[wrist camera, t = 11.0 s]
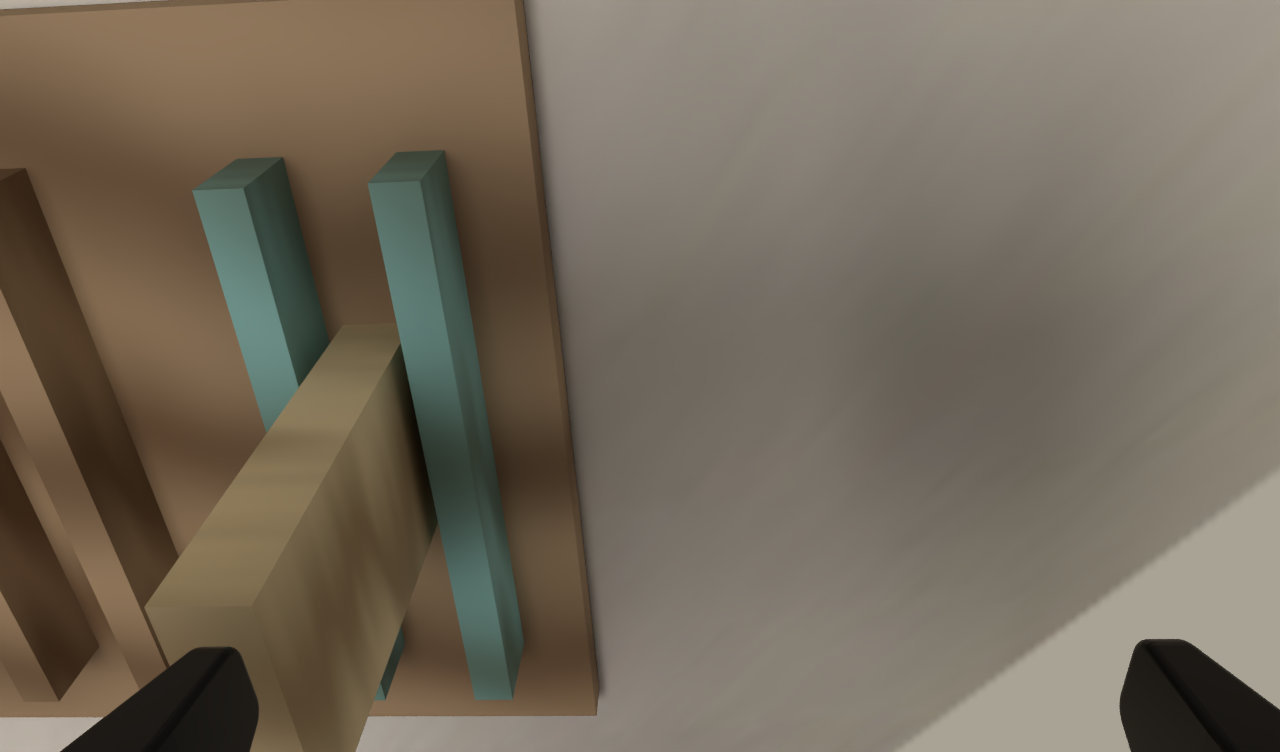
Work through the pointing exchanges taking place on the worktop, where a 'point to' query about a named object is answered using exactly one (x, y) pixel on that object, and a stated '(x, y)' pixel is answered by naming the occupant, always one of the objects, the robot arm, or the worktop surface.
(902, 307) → the worktop surface
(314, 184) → the rack
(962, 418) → the worktop surface
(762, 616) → the worktop surface
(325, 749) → the tan rectangular block
